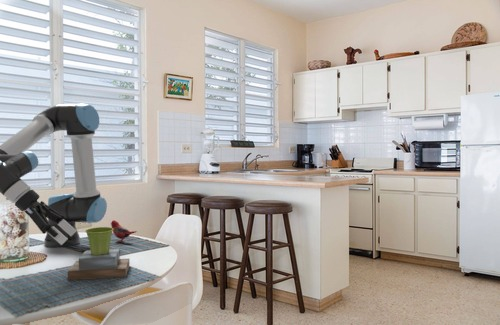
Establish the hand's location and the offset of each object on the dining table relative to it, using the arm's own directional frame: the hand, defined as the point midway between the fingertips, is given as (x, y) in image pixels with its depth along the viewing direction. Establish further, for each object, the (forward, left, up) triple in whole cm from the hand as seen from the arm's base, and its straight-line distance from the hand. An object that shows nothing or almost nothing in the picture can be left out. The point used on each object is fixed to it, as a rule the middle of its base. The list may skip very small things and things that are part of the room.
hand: (69, 237), depth 144 cm
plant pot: (0, +10, -6) cm, 12 cm away
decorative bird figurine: (-47, +13, -13) cm, 51 cm away
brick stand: (0, +10, -13) cm, 17 cm away
